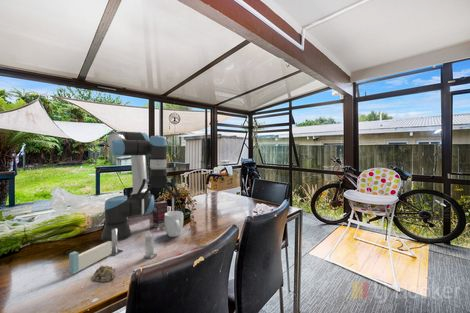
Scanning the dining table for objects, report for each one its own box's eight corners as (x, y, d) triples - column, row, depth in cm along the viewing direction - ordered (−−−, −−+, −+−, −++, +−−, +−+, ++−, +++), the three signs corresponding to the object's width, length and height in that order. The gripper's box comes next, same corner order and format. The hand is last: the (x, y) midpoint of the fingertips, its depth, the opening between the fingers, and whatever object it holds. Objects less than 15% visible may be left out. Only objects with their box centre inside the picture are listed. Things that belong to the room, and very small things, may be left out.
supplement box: (163, 222, 146) (163, 200, 145) (167, 224, 143) (167, 201, 143) (152, 226, 139) (152, 203, 138) (157, 228, 136) (157, 204, 135)
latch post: (144, 257, 99) (144, 236, 98) (149, 253, 102) (149, 233, 102) (151, 259, 97) (151, 238, 97) (156, 255, 101) (156, 235, 100)
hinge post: (106, 254, 101) (106, 230, 101) (115, 249, 106) (115, 226, 105) (114, 256, 99) (113, 231, 99) (122, 251, 104) (122, 228, 104)
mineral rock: (86, 272, 83) (107, 258, 89) (90, 280, 84) (110, 266, 91) (99, 282, 77) (120, 267, 83) (102, 291, 78) (123, 276, 85)
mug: (188, 238, 121) (188, 216, 120) (169, 242, 115) (169, 219, 114) (179, 229, 133) (179, 209, 133) (162, 233, 127) (162, 212, 127)
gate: (108, 252, 101) (108, 236, 100) (112, 253, 100) (111, 237, 100) (69, 272, 84) (69, 253, 84) (73, 274, 83) (73, 254, 83)
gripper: (128, 169, 91) (128, 217, 92) (185, 168, 99) (185, 212, 100) (130, 168, 98) (130, 212, 99) (184, 167, 107) (183, 208, 107)
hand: (158, 212), depth 99 cm, fingers open, 13 cm apart
